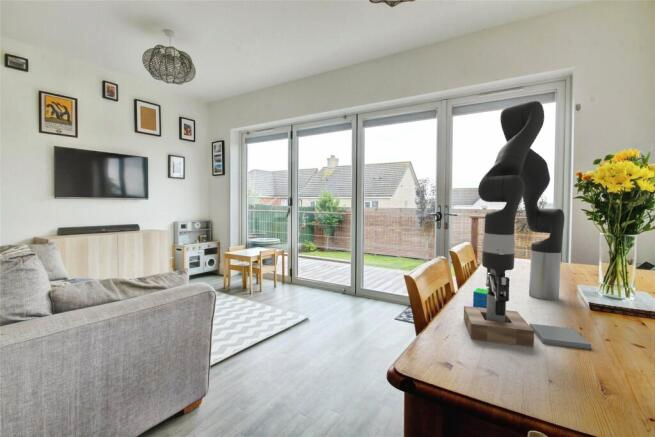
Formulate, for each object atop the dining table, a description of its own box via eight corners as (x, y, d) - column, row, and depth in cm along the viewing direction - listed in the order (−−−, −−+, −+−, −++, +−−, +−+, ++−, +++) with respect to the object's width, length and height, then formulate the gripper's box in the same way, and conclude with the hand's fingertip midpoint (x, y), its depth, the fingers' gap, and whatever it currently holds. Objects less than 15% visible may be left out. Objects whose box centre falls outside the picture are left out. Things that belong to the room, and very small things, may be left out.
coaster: (529, 327, 86) (529, 323, 86) (571, 332, 83) (571, 328, 83) (543, 343, 77) (543, 338, 77) (591, 349, 74) (591, 344, 74)
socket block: (463, 319, 92) (464, 306, 92) (516, 325, 88) (516, 311, 88) (470, 338, 79) (471, 323, 79) (533, 346, 75) (534, 330, 75)
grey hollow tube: (507, 335, 81) (509, 297, 80) (488, 334, 82) (490, 296, 81) (501, 328, 85) (502, 292, 85) (483, 327, 86) (485, 291, 86)
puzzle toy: (491, 312, 98) (492, 295, 98) (472, 308, 102) (473, 291, 102) (495, 308, 103) (496, 291, 102) (477, 304, 106) (477, 287, 106)
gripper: (478, 246, 90) (476, 300, 91) (488, 253, 77) (485, 317, 77) (506, 247, 88) (504, 302, 89) (522, 255, 74) (519, 321, 75)
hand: (495, 309), depth 83 cm, fingers open, 8 cm apart
